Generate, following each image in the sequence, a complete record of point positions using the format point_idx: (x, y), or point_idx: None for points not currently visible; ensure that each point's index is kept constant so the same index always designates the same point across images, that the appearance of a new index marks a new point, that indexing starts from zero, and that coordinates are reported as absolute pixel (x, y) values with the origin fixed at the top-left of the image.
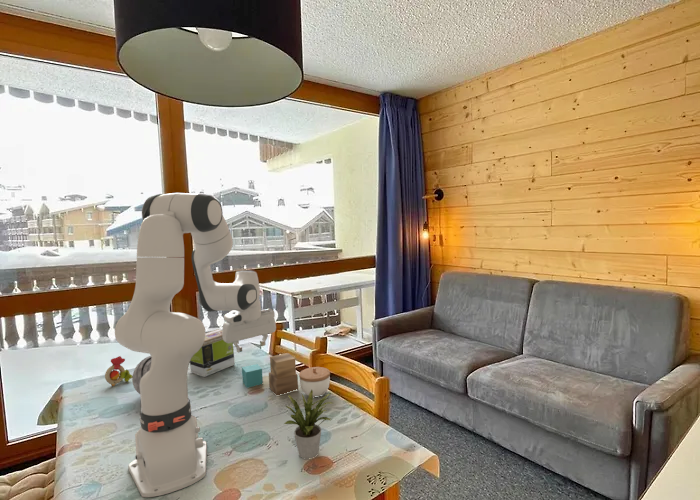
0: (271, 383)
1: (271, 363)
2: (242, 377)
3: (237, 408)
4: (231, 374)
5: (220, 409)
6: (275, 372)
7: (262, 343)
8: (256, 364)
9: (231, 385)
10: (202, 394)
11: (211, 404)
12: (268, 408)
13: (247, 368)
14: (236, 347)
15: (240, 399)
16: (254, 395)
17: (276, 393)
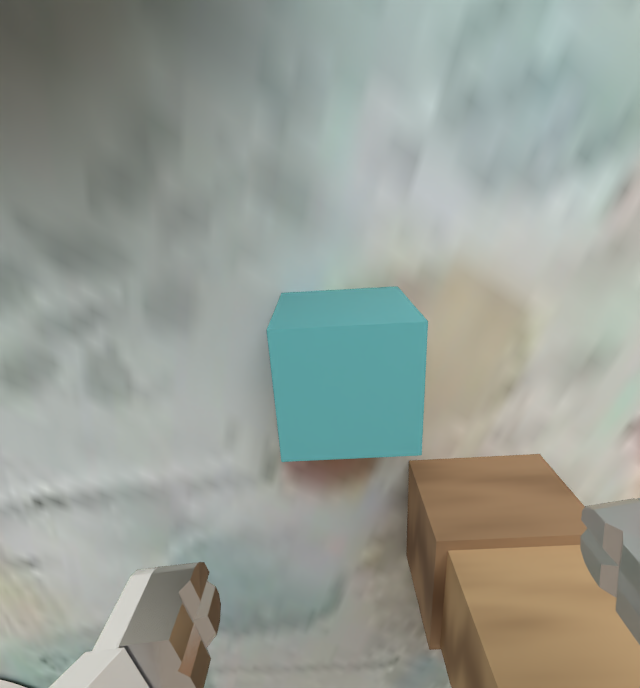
0: (418, 529)
1: (476, 663)
2: (277, 303)
3: (210, 573)
4: (216, 55)
5: (133, 550)
6: (453, 665)
7: (628, 609)
8: (415, 332)
9: (200, 306)
10: (12, 348)
11: (85, 490)
12: (334, 623)
13: (310, 387)
14: (98, 646)
15: (233, 506)
16: (309, 500)
17: (409, 562)
